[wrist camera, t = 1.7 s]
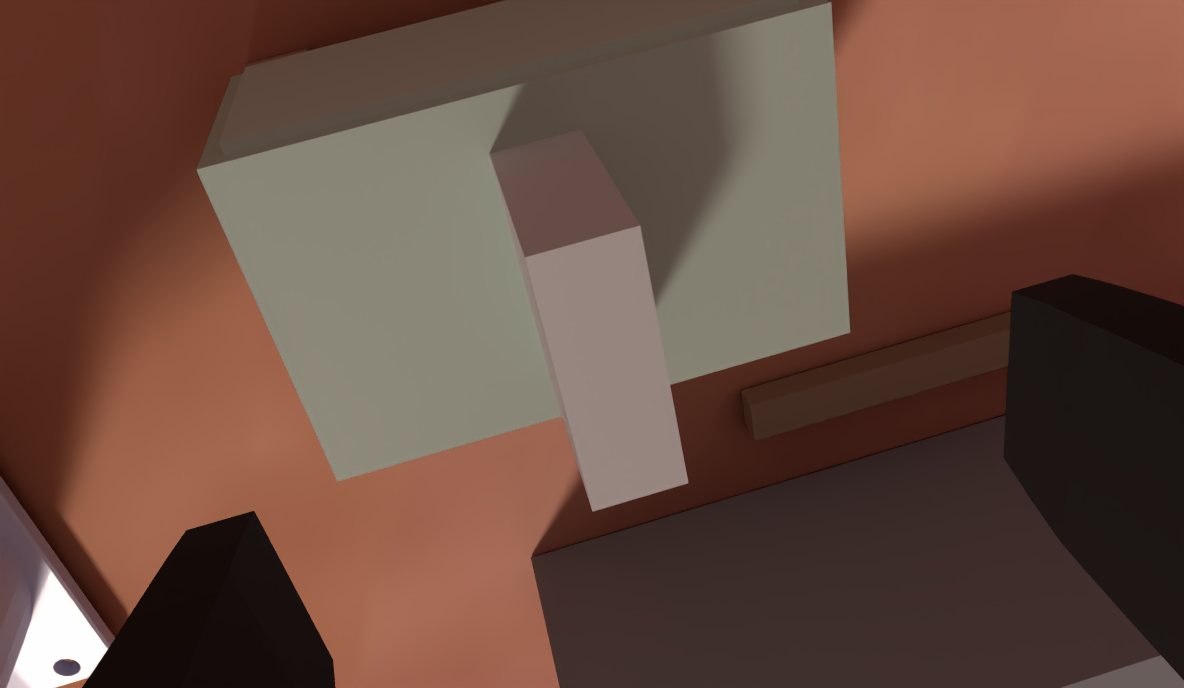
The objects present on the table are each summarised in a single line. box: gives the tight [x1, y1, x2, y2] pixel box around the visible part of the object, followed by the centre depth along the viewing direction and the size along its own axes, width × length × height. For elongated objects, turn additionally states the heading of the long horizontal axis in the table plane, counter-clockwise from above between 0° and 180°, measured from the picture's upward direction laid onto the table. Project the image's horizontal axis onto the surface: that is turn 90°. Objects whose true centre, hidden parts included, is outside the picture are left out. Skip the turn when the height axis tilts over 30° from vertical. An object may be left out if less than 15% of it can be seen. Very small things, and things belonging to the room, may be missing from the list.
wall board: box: [531, 312, 1184, 688], centre depth 20 cm, size 18×4×7 cm, turn 101°
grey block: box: [196, 0, 850, 512], centre depth 14 cm, size 8×5×8 cm, turn 100°
